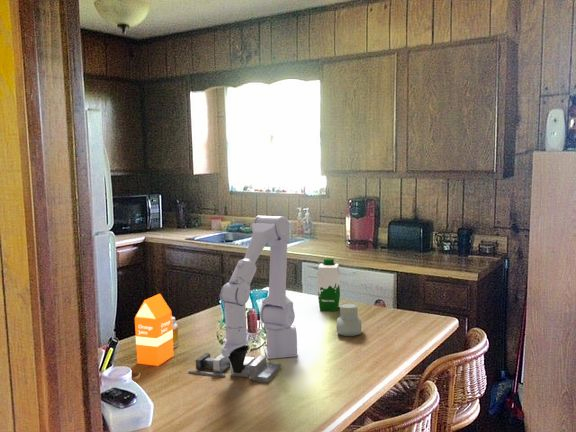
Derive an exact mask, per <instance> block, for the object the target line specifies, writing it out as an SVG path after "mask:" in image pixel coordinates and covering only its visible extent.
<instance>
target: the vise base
mask: <svg viewBox="0 0 576 432" xmlns="http://www.w3.org/2000/svg"><path fill="white" fill-rule="evenodd" d="M267 360H268V359H267V356H266V355H261V354H259V356H258V357H256V358H255V360H254V361H253V362H252V363H251V364H250V365H249V375H248V377H249V380H254V382H257V383H263V384H265V383H266V384H268V383H270V381H271V380H272V379H273V378H275V376H276V375H277V374H278V373H279V372H280V371H281V369H282V367H281V366H282V365H281V363H271V362H267ZM188 373H189V374H194V373H196V375H197V374H198V375H202V374H203V375H205V376H210V375H211V376H213V377H220V378H226V374H225V373H221V374H219V373H214V372H209V371H202V370H196V369H195V370H192V369H189V370H188Z"/></svg>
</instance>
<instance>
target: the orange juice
mask: <svg viewBox="0 0 576 432" xmlns="http://www.w3.org/2000/svg"><path fill="white" fill-rule="evenodd" d="M172 317H173V315H172V310H171V308H170V307H169V305H168V304H167V302H166V301H165V299H164V298H163V296H162V294H161V293H158V294H156V295H153V296H152V297H148V298H147V299H144V300H143V302H142V304H141V305H140V307H139V309H138V311H137V313H136V314H135V317H134V328H135V329H134V331H135V345H136V360H137V361H136V363H137V364H139V365H140V364H142V365H150V366H160V365H162V364H163V363H165V362H166V361H167V360H170V359H171V358H172V357H174V356H175V355H174V348H173V330H172Z"/></svg>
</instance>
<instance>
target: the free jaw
mask: <svg viewBox="0 0 576 432" xmlns="http://www.w3.org/2000/svg"><path fill="white" fill-rule="evenodd" d="M230 363H231V362H230V360H229V358H228V357H227V356H222V353H221V354H219V355H217V356H216V357H215V358H213V357H211V353H209V352H205V353H203V354H202V355H201V356H199V357H197V358H196V359H195V371H202V370H204V369H209V370H213V373H219V374H223V372H224V371H225V370H227V369H228V368H229V367H230Z"/></svg>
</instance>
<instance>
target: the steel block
mask: <svg viewBox="0 0 576 432" xmlns="http://www.w3.org/2000/svg"><path fill="white" fill-rule="evenodd" d="M255 359H256V358H255V357H253V356H247V355H246V356H245V359H244V364H243V369H242V372H241V373H234V372H233V368H232V365H231V363H230V366H229V367H230V376H236V377H245V378H247V377H249V365H250V364H251V363H252V362H253V361H254V360H255Z"/></svg>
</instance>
